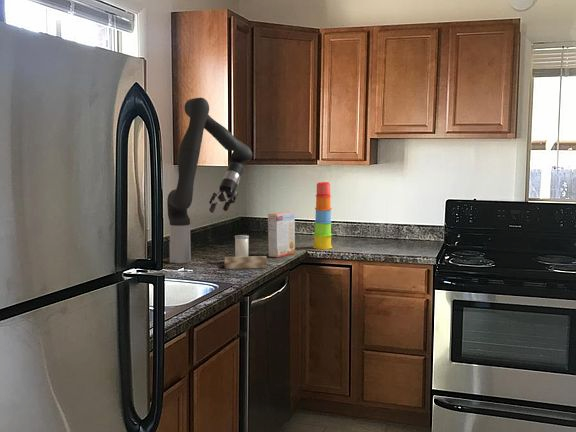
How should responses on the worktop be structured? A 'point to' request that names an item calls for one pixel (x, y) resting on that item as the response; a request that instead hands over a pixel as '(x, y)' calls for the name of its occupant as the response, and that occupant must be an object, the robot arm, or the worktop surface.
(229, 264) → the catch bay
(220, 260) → the worktop surface
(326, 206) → the stacking cups
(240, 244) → the cylinder
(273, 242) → the cracker box
